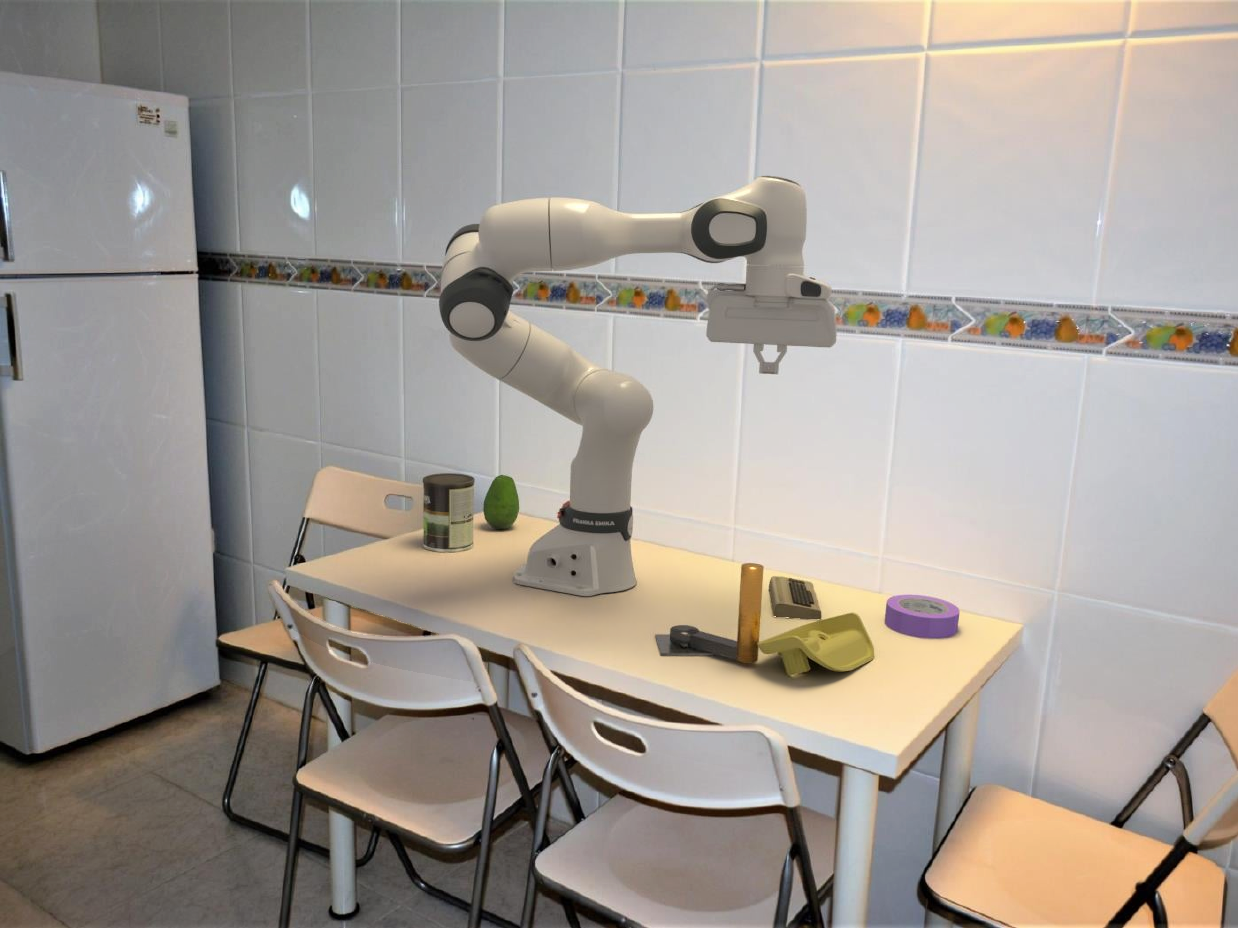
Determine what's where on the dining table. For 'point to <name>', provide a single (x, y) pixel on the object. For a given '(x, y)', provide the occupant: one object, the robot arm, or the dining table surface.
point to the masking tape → (922, 616)
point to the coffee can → (448, 512)
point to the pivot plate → (677, 648)
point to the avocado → (501, 503)
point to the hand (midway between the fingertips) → (768, 373)
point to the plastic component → (823, 645)
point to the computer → (793, 598)
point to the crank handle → (747, 623)
